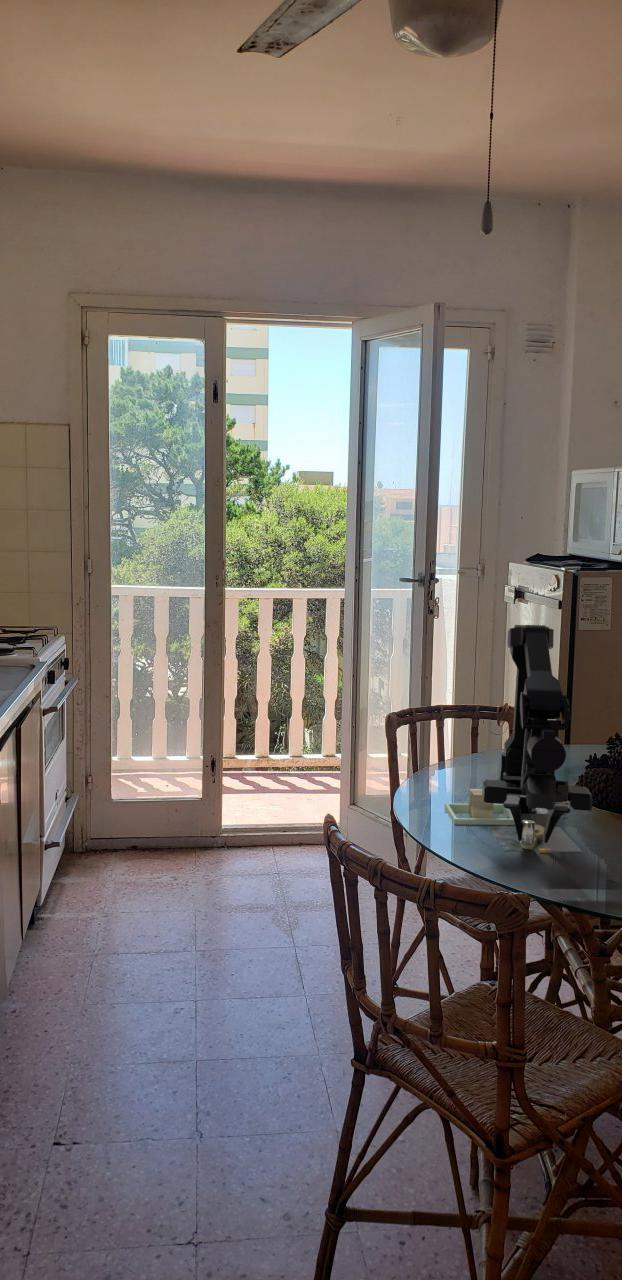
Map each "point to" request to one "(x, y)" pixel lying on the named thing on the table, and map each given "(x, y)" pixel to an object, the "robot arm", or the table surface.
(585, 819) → the table surface
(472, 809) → the block
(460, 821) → the tray
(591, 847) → the table surface
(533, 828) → the crank
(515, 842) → the crank base
